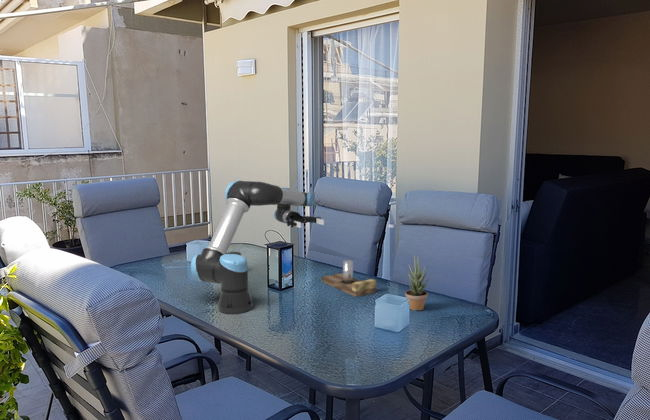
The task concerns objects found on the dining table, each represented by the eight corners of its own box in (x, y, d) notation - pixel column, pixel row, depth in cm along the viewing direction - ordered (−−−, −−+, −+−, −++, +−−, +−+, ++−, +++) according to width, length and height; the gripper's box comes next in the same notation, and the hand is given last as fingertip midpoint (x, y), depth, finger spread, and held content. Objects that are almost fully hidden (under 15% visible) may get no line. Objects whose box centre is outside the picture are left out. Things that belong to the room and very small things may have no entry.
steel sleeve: (346, 288, 255) (346, 263, 253) (341, 286, 259) (340, 261, 257) (355, 287, 257) (354, 261, 255) (349, 284, 262) (349, 259, 260)
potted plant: (413, 303, 232) (414, 249, 228) (431, 308, 225) (432, 253, 222) (400, 309, 225) (400, 253, 221) (418, 314, 219) (419, 257, 215)
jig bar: (355, 296, 242) (355, 284, 242) (321, 281, 268) (321, 270, 267) (376, 292, 249) (376, 280, 248) (341, 277, 274) (341, 266, 273)
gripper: (312, 222, 289) (332, 228, 272) (271, 227, 276) (290, 233, 258) (311, 209, 288) (332, 214, 270) (271, 213, 275) (290, 219, 257)
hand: (312, 223), depth 264 cm, fingers open, 13 cm apart
